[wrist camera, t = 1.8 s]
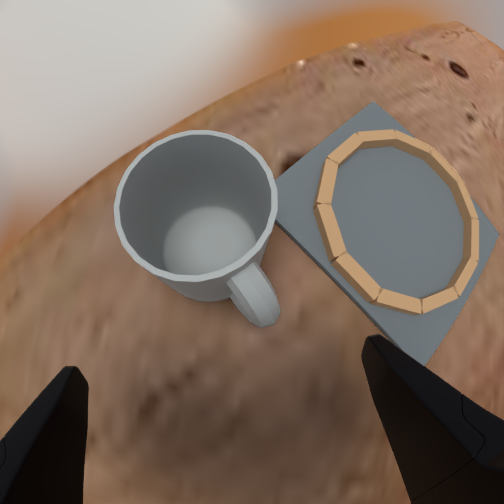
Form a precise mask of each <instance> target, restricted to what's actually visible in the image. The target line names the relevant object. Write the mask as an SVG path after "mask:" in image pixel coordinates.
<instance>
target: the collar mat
mask: <svg viewBox="0 0 504 504" xmlns="http://www.w3.org/2000/svg"><path fill="white" fill-rule="evenodd" d="M460 179H461V176H460V175H459V174H458V173H457V172H456V171H455V170H454V169H453V168H452V166H451V165H450V164H449V163H448V162H447V161H446V160H445V159H444V158H443V157H442V156H441V155H440V154H439V153H438V152H437V151H436V150H435V149H434V148H432V149H431V146H430V145H428V144H426V143H424V142H422V141H420V140H418V139H416V138H415V137H414V136H413V135H412V134H411V133H409V132H408V131H407V130H406V129H405V128H404V127H403V126H402V125H401V124H400V123H398V122H397V121H396V120H395V119H394V118H393V117H392V116H390V115H389V114H388V113H387V112H386V111H385V110H383V109H382V108H381V107H380V106H379V105H377V104H376V103H375V102H374V101H373V102H372V103H370V104H369V105H368V106H367V107H365V108H364V109H363V110H361V111H360V112H359V113H357V114H356V115H355V116H354V117H352V118H351V119H350V120H349V121H347V122H346V123H345V124H343V125H342V126H341V127H340V128H338V129H337V130H336V131H335V132H333V133H332V134H331V135H330V136H328V137H327V138H326V139H325V140H323V141H322V142H321V143H320V144H318V145H317V146H316V147H315V148H313V149H312V150H311V151H310V152H309V153H307V154H306V155H305V156H304V157H302V158H301V159H300V160H299V161H298V162H296V163H295V164H294V165H293V166H292V167H290V168H289V169H288V170H287V171H285V172H284V173H283V174H282V175H281V176H279V177H278V178H277V179H276V180H275V184H276V187H277V200H278V210H277V214H276V218H275V221H274V222H275V223H276V224H277V225H278V226H279V227H280V228H281V229H282V230H283V231H284V232H285V233H286V234H287V235H288V236H289V237H290V238H291V239H292V240H293V241H294V242H295V243H296V244H297V245H298V246H299V247H300V248H301V249H302V250H303V251H304V252H305V253H306V254H307V255H308V256H309V257H310V258H311V259H312V260H313V261H314V262H315V263H316V264H317V265H318V266H319V267H320V268H321V269H322V270H323V271H324V272H325V273H326V274H327V275H328V276H329V277H330V278H331V279H332V280H333V281H334V282H335V283H336V284H337V285H338V286H339V287H340V288H341V289H342V290H343V291H344V292H345V293H346V294H347V295H348V296H349V298H350V299H351V300H352V301H353V302H354V303H355V304H356V305H357V306H358V307H359V308H360V309H361V310H362V311H363V312H364V313H365V314H366V315H367V316H368V317H369V318H370V320H371V321H372V322H373V323H374V324H375V325H376V326H377V327H378V328H379V329H380V330H381V331H382V332H383V333H384V334H385V336H386V337H387V338H388V339H389V340H390V341H391V342H392V343H393V344H394V345H395V346H397V347H398V348H400V349H401V350H402V351H404V352H405V353H407V354H408V355H409V356H411V357H412V358H414V359H415V360H416V361H418V362H419V363H421V364H422V365H423V366H425V364H426V363H427V361H428V360H429V359H430V357H431V356H432V354H433V353H434V352H435V350H436V349H437V347H438V346H439V344H440V343H441V341H442V340H443V338H444V337H445V335H446V334H447V332H448V330H449V329H450V327H451V326H452V324H453V322H454V321H455V319H456V318H457V316H458V314H459V313H460V311H461V309H462V307H463V306H464V304H465V302H466V301H467V299H468V297H469V295H470V293H471V292H472V290H473V288H474V286H475V284H476V282H477V280H478V278H479V276H480V274H481V272H482V270H483V268H484V266H485V264H486V262H487V260H488V258H489V256H490V254H491V252H492V249H493V247H494V245H495V243H496V240H497V238H498V236H499V233H498V231H497V230H496V229H495V227H494V226H493V225H492V223H491V222H490V221H489V219H488V218H487V217H486V215H485V214H484V213H483V212H482V210H481V209H480V208H479V207H478V205H477V204H476V203H475V202H474V200H473V199H472V198H471V197H470V195H469V193H468V191H467V188H466V186H465V184H464V181H463V179H461V180H460Z"/></svg>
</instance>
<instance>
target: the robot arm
mask: <svg viewBox="0 0 504 504" xmlns="http://www.w3.org/2000/svg"><path fill="white" fill-rule="evenodd" d="M361 357H362V362H363V366H364V369H365V373H366V376H367V380H368V384H369V387H370V391H371V395H372V398H373V401H374V404H375V407H376V409H377V412H378V414H379V417H380V419H381V422H382V424H383V427H384V429H385V432H386V435H387V437H388V440H389V443H390V445H391V448H392V451H393V453H394V456H395V459H396V461H397V464H398V467H399V470H400V472H401V475H402V478H403V481H404V484H405V487H406V490H407V492H408V495H409V498H410V501H411V504H504V420H502V419H501V418H499V417H497V416H495V415H494V414H492V413H490V412H489V411H487V410H485V409H484V408H482V407H481V406H479V405H478V404H476V403H475V402H473V401H472V400H470V399H469V398H468V397H466V396H465V395H464V394H461V392H459V391H458V390H457V389H455V388H454V387H452V386H451V385H450V384H448V383H447V382H445V381H444V380H443V379H441V378H440V377H439V376H437V375H436V374H434V373H433V372H432V371H430V370H429V369H427V368H426V367H425V366H423V365H422V364H421V363H419V362H418V361H416V360H415V359H414V358H412V357H411V356H409V355H408V354H407V353H405V352H404V351H402V350H401V349H400V348H398V347H397V346H395V345H394V344H393V343H391V342H390V341H389V340H387V339H386V338H384V337H383V336H381V335H379V334H376V335H372V336H368V337H367V338H366V340H365V344H364V347H363V350H362V355H361ZM88 391H89V387H88V383H87V381H86V379H85V378H84V376H83V375H82V373H81V371H80V370H79V369H78V367H76V366H65V367H64V368H63V369H62V370H61V371H60V372H59V373H58V374H57V375H56V377H55V378H54V379H53V380H52V381H51V382H50V383H49V384H48V385H47V387H46V388H45V389H44V390H43V391H42V392H41V393H40V395H39V396H38V397H37V398H36V399H35V400H34V401H33V403H32V404H31V405H30V406H29V407H28V408H27V410H26V411H25V412H24V413H23V414H22V415H21V417H20V418H19V419H18V420H17V421H16V423H15V424H14V425H13V426H12V427H11V429H10V430H9V431H8V432H7V433H6V435H5V436H4V437H3V438H2V439H1V441H0V504H83V482H84V464H85V451H86V440H87V429H88Z"/></svg>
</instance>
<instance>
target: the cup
mask: <svg viewBox="0 0 504 504" xmlns="http://www.w3.org/2000/svg"><path fill="white" fill-rule="evenodd" d="M277 210H278V200H277V187H276V184H275V181H274V178H273V175H272V171H271V170H270V168H269V167H268V165H267V164H266V162H265V161H264V159H263V158H262V156H261V155H260V154H259V153H258V152H256V151H255V150H254V149H253V148H252V147H251V146H249V145H248V144H247V143H245V142H243V141H241V140H239V139H237V138H235V137H233V136H231V135H229V134H225V133H220V132H216V131H211V130H190V131H186V132H181V133H177V134H173V135H170V136H168V137H166V138H164V139H162V140H159V141H157V142H155V143H153V144H152V145H151V146H150V147H148V148H147V149H146V150H144V151H143V152H142V153H141V154H139V155H138V156H137V157H136V159H135V160H134V161H133V162H132V164H131V165H130V166H129V167H128V168H127V170H126V171H125V173H124V175H123V177H122V180H121V182H120V184H119V186H118V188H117V193H116V198H115V204H114V216H115V227H116V230H117V232H118V235H119V237H120V240H121V242H122V245H123V246H124V248H125V249H126V250H127V252H128V253H129V254H130V255H131V257H132V258H133V259H134V260H135V262H137V263H138V264H139V265H141V266H142V267H143V268H145V269H146V270H147V271H149V272H150V273H152V274H153V275H154V276H156V277H157V278H158V279H160V280H161V281H163V282H164V283H165V284H167V285H168V286H170V287H171V288H172V289H174V290H175V291H177V292H178V293H180V294H181V295H183V296H185V297H187V298H191V299H194V300H197V301H204V302H216V301H220V300H224V299H228V298H231V300H232V301H233V303H234V304H235V305H236V307H237V308H238V309H239V310H240V312H241V313H242V314H243V315H244V317H245V318H246V319H247V320H248V321H249V322H251V323H253V324H254V325H256V326H258V327H259V328H263V327H267V326H271V325H274V324H275V322H276V320H277V319H278V317H279V315H280V306H279V303H278V299H277V296H276V293H275V290H274V289H273V287H272V285H271V283H270V281H269V280H268V278H267V277H266V275H265V274H264V272H263V271H262V269H261V268H260V264H261V261H262V258H263V255H264V252H265V249H266V246H267V243H268V240H269V238H270V235H271V232H272V228H273V225H274V221H275V218H276V214H277Z"/></svg>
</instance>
